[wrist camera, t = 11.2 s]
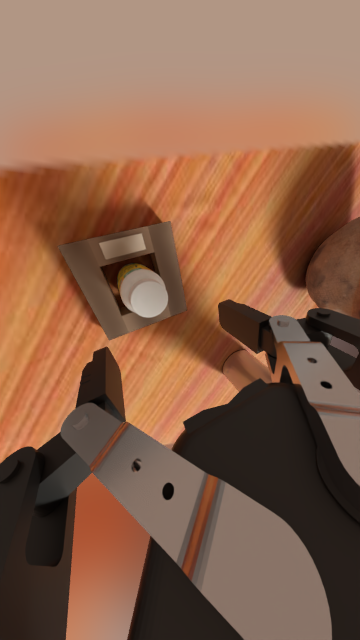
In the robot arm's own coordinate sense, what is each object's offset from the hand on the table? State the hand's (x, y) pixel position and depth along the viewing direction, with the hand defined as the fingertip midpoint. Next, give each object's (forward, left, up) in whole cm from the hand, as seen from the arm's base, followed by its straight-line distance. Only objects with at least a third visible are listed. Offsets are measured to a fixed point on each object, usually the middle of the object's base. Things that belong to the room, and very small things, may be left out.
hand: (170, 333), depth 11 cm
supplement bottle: (0, 0, -16) cm, 16 cm away
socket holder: (0, 0, -16) cm, 16 cm away
